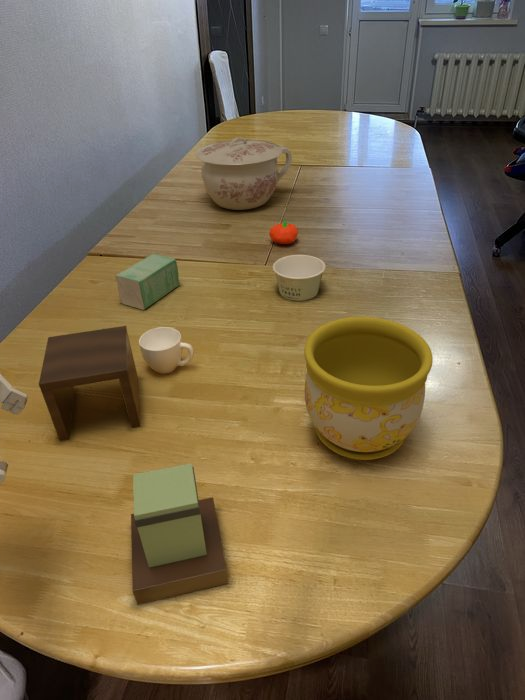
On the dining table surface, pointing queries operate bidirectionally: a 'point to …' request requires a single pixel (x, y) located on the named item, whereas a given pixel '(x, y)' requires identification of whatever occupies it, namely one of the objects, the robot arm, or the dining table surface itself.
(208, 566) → the brown square tile
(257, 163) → the chamber pot
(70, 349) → the wooden stool
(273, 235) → the pumpkin
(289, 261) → the food container
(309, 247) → the dining table surface
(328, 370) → the flowerpot
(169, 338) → the cup
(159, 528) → the block
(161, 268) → the box
